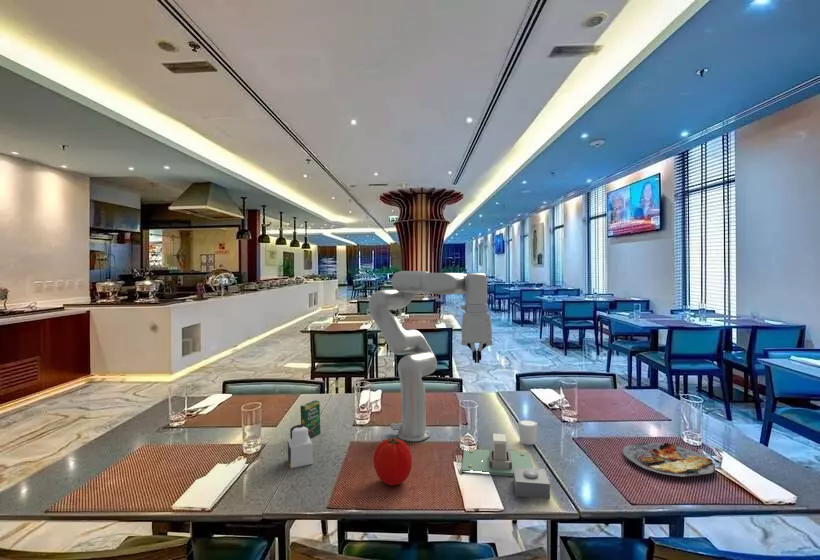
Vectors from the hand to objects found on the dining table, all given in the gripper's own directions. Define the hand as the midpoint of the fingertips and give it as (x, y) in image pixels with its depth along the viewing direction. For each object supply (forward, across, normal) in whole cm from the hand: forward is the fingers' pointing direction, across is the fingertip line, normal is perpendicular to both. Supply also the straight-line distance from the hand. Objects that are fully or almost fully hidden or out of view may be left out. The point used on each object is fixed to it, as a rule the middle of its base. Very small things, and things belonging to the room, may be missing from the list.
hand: (476, 362), depth 139 cm
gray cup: (+32, +18, +14) cm, 39 cm away
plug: (+31, +7, -7) cm, 32 cm away
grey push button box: (+32, +15, -21) cm, 41 cm away
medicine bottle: (+32, -59, -14) cm, 69 cm away
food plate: (+32, +60, +2) cm, 68 cm away
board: (+32, +6, -6) cm, 33 cm away
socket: (+32, +7, -7) cm, 33 cm away
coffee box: (+33, -65, +8) cm, 73 cm away
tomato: (+32, -25, -23) cm, 47 cm away
